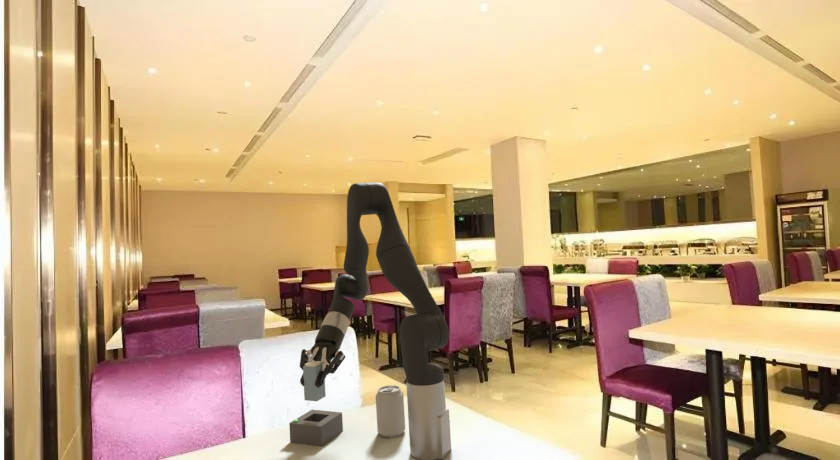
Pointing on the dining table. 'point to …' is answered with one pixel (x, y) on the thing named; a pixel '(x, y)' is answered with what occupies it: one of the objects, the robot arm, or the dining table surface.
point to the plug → (312, 381)
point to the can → (390, 411)
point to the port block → (316, 427)
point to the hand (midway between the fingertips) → (310, 385)
